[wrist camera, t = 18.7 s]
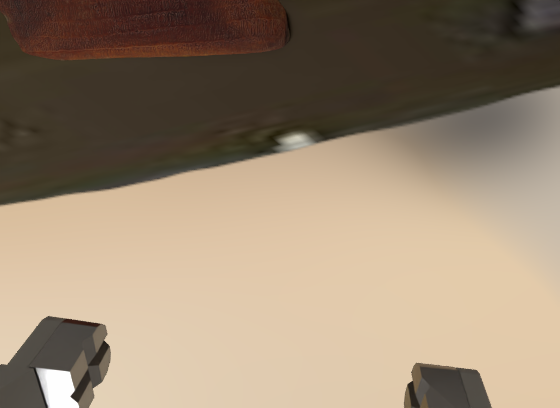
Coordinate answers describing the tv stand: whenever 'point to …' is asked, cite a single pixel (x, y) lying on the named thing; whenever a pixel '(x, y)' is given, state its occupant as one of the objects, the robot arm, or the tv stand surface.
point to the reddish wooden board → (145, 27)
